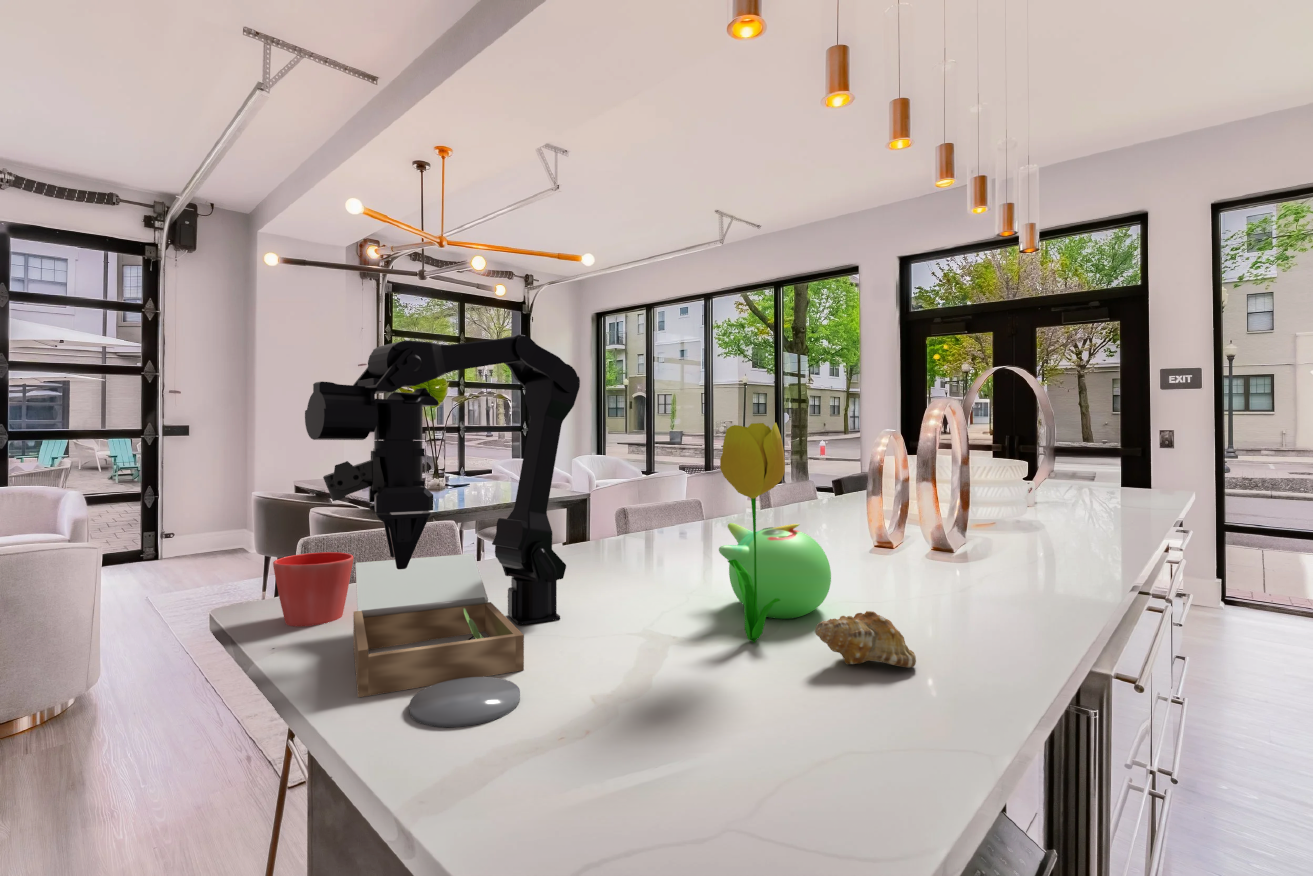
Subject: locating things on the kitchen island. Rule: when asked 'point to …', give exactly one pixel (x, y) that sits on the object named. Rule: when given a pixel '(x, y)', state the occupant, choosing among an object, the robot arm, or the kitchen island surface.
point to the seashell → (866, 639)
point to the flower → (752, 497)
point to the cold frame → (433, 648)
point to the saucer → (464, 701)
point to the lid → (418, 585)
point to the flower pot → (313, 586)
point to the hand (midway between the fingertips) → (398, 562)
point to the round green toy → (781, 569)
